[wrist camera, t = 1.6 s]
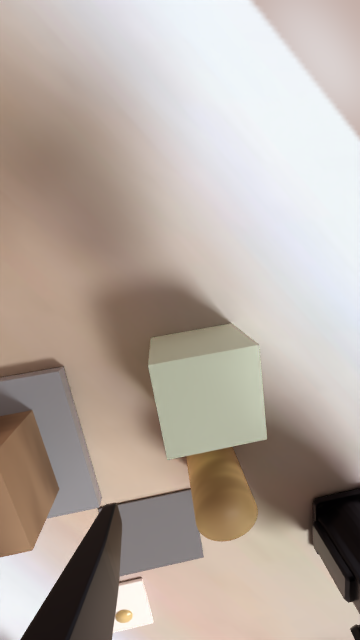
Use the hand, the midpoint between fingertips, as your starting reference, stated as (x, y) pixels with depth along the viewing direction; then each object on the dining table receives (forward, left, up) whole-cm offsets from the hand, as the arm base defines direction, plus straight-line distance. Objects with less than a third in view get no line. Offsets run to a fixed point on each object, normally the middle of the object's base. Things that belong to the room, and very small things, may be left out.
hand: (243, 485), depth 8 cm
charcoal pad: (+6, +15, -10) cm, 19 cm away
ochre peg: (0, +8, -10) cm, 13 cm away
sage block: (0, 0, -10) cm, 10 cm away
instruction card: (+12, +23, -10) cm, 28 cm away
